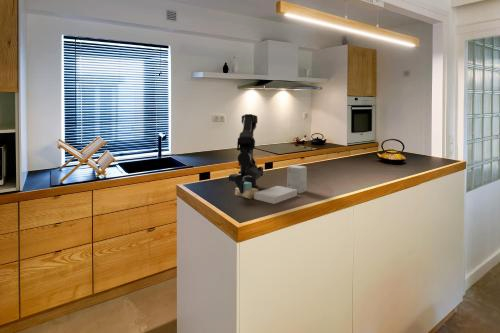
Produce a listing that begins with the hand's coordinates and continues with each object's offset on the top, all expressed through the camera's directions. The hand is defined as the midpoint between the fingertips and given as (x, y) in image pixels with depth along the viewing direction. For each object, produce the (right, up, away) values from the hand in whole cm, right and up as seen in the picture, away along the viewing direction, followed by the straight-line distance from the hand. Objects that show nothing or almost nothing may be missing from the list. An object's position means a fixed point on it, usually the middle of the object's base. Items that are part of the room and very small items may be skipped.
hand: (246, 192), depth 156 cm
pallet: (0, -2, 0) cm, 2 cm away
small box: (+26, 0, +8) cm, 27 cm away
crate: (0, +2, 0) cm, 2 cm away
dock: (+14, -2, -3) cm, 15 cm away
